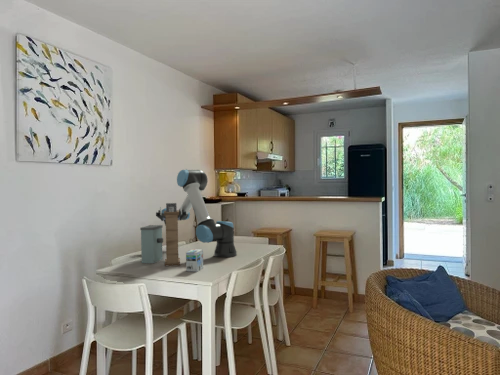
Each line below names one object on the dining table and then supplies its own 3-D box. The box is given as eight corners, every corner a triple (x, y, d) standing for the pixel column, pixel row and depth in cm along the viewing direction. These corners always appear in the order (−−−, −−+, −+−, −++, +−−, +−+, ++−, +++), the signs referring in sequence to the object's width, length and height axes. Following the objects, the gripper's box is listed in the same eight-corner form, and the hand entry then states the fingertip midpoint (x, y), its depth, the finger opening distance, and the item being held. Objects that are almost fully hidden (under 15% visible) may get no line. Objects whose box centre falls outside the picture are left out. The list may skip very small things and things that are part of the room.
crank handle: (176, 211, 224) (176, 203, 224) (166, 212, 222) (166, 203, 222) (176, 209, 251) (176, 201, 251) (167, 209, 250) (167, 201, 250)
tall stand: (180, 265, 223) (179, 211, 223) (164, 266, 221) (163, 212, 221) (179, 260, 238) (178, 210, 238) (165, 261, 236) (164, 210, 236)
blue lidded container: (167, 258, 244) (166, 225, 244) (158, 263, 230) (157, 227, 230) (150, 258, 246) (150, 225, 246) (140, 263, 231) (140, 227, 231)
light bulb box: (197, 272, 204) (197, 252, 204) (185, 271, 206) (185, 252, 206) (203, 267, 215) (203, 249, 215) (192, 267, 216) (192, 248, 216)
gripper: (189, 226, 266) (190, 212, 248) (153, 227, 261) (151, 214, 243) (189, 216, 270) (189, 203, 252) (153, 218, 265) (151, 204, 247)
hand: (170, 208), depth 248 cm, fingers open, 13 cm apart
